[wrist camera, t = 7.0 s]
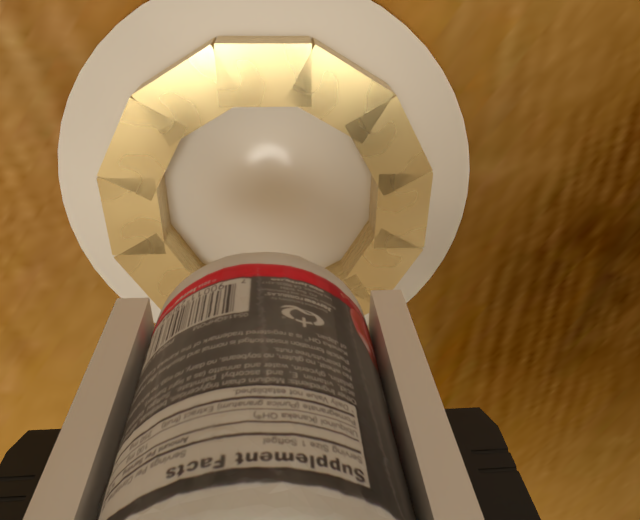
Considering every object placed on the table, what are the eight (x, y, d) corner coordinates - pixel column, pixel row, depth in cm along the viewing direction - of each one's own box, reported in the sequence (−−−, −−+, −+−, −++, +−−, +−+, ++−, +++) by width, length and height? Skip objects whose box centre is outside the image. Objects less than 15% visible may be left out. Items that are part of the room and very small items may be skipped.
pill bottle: (356, 410, 16) (451, 947, 7) (164, 411, 15) (33, 993, 7) (379, 245, 13) (571, 802, 5) (148, 239, 13) (-105, 856, 4)
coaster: (494, -30, 19) (502, -29, 18) (438, 337, 27) (443, 347, 26) (15, -34, 18) (5, -33, 17) (106, 349, 26) (101, 360, 25)
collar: (436, 36, 19) (449, 43, 18) (405, 315, 25) (413, 337, 24) (84, 35, 18) (68, 43, 17) (139, 324, 24) (131, 347, 23)
